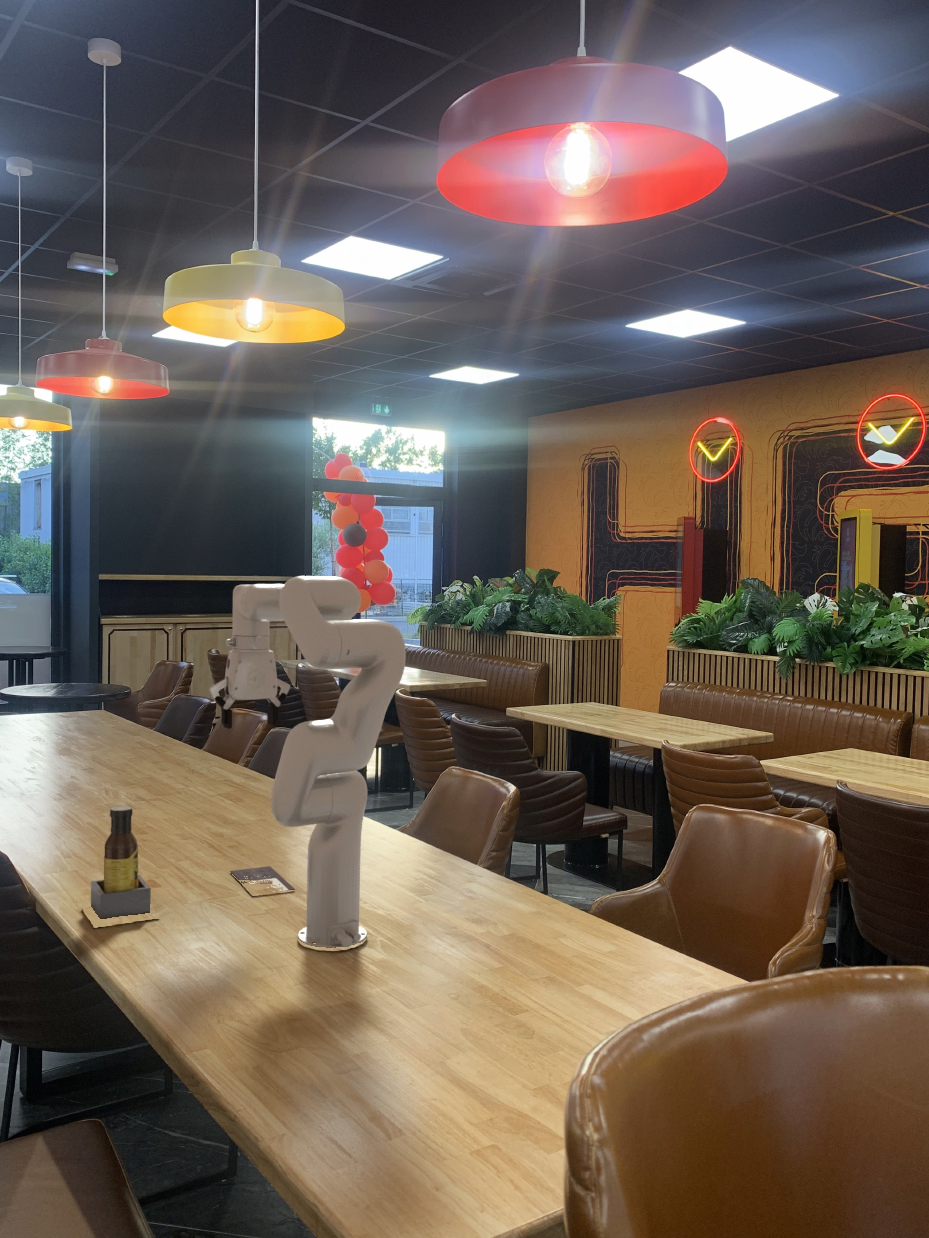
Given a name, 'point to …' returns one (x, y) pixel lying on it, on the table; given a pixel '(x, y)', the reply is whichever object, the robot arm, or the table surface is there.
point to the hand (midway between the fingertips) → (249, 726)
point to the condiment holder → (120, 900)
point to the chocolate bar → (261, 873)
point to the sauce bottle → (120, 853)
